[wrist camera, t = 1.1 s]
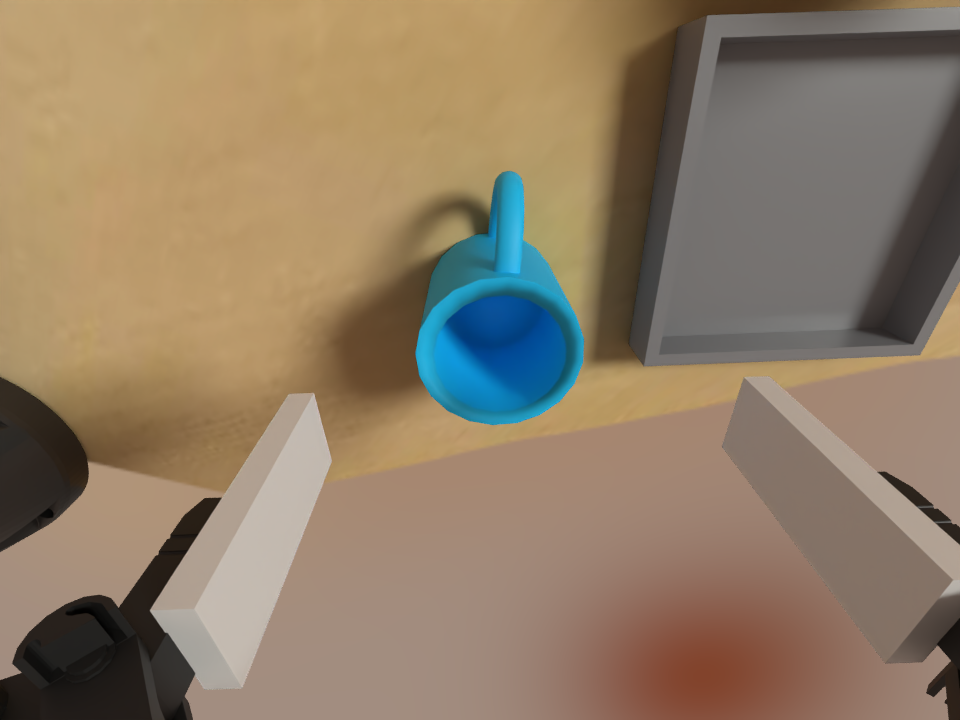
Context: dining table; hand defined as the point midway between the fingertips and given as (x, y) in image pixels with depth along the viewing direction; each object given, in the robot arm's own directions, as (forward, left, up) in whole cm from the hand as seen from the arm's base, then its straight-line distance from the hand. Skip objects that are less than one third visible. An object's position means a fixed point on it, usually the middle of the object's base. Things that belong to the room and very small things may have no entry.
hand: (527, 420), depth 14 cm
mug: (0, 0, -16) cm, 16 cm away
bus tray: (+18, +3, -16) cm, 24 cm away
